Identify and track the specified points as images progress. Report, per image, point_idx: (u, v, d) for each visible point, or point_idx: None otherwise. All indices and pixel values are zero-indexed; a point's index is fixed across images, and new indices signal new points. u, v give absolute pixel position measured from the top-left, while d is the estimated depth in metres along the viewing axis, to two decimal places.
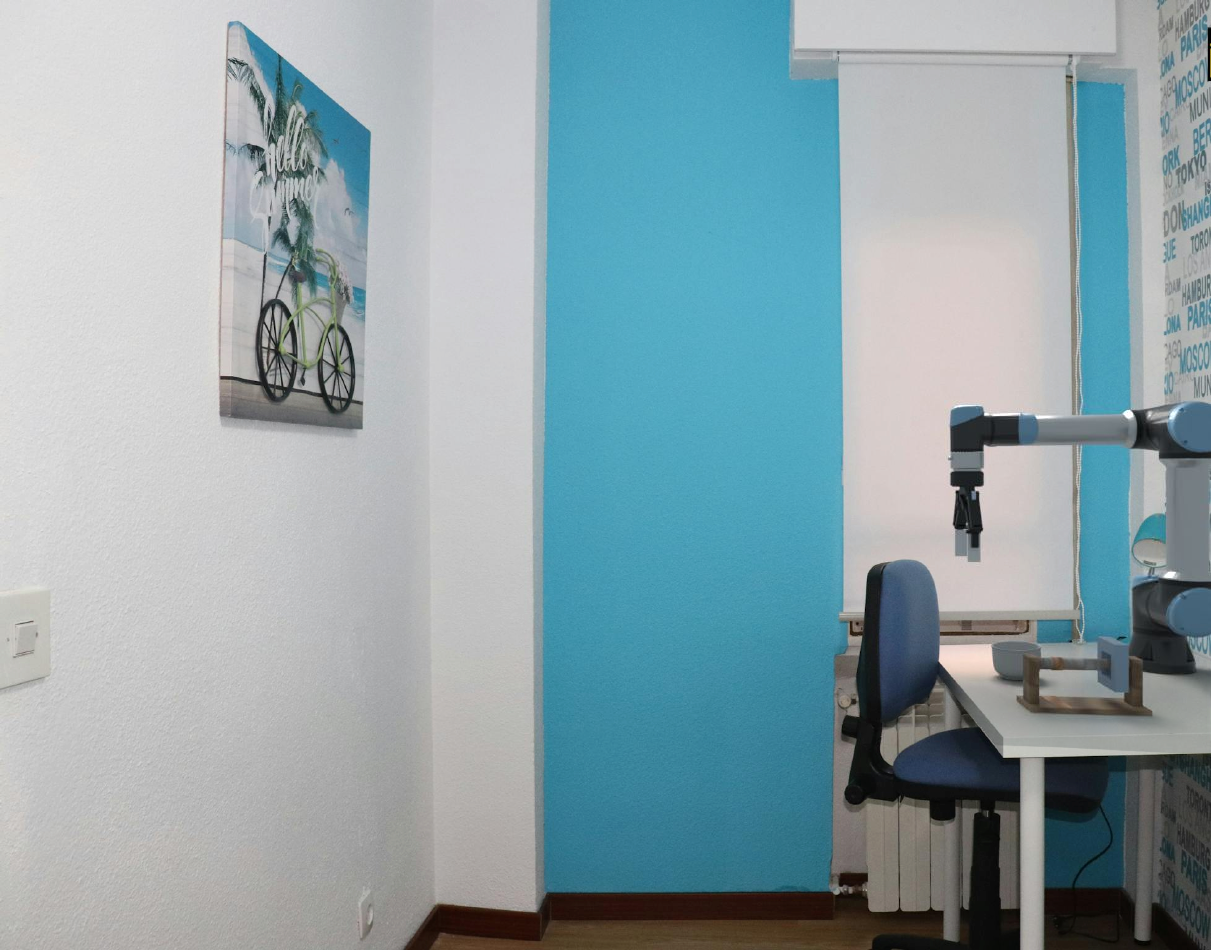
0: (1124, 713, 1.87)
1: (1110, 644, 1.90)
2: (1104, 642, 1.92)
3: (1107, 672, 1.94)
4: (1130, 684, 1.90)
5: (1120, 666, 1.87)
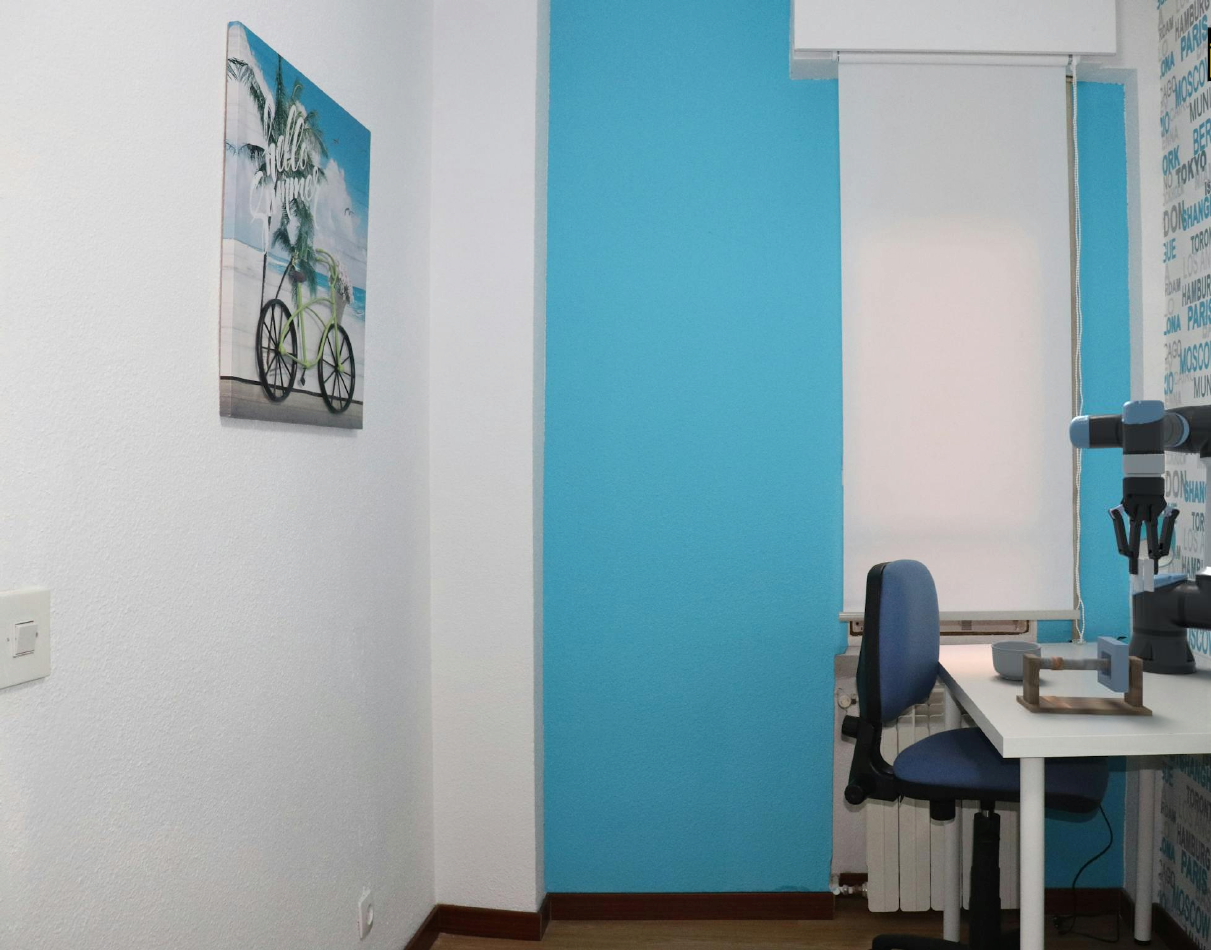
0: (1124, 713, 1.87)
1: (1110, 644, 1.90)
2: (1104, 642, 1.92)
3: (1107, 672, 1.94)
4: (1130, 684, 1.90)
5: (1120, 666, 1.87)
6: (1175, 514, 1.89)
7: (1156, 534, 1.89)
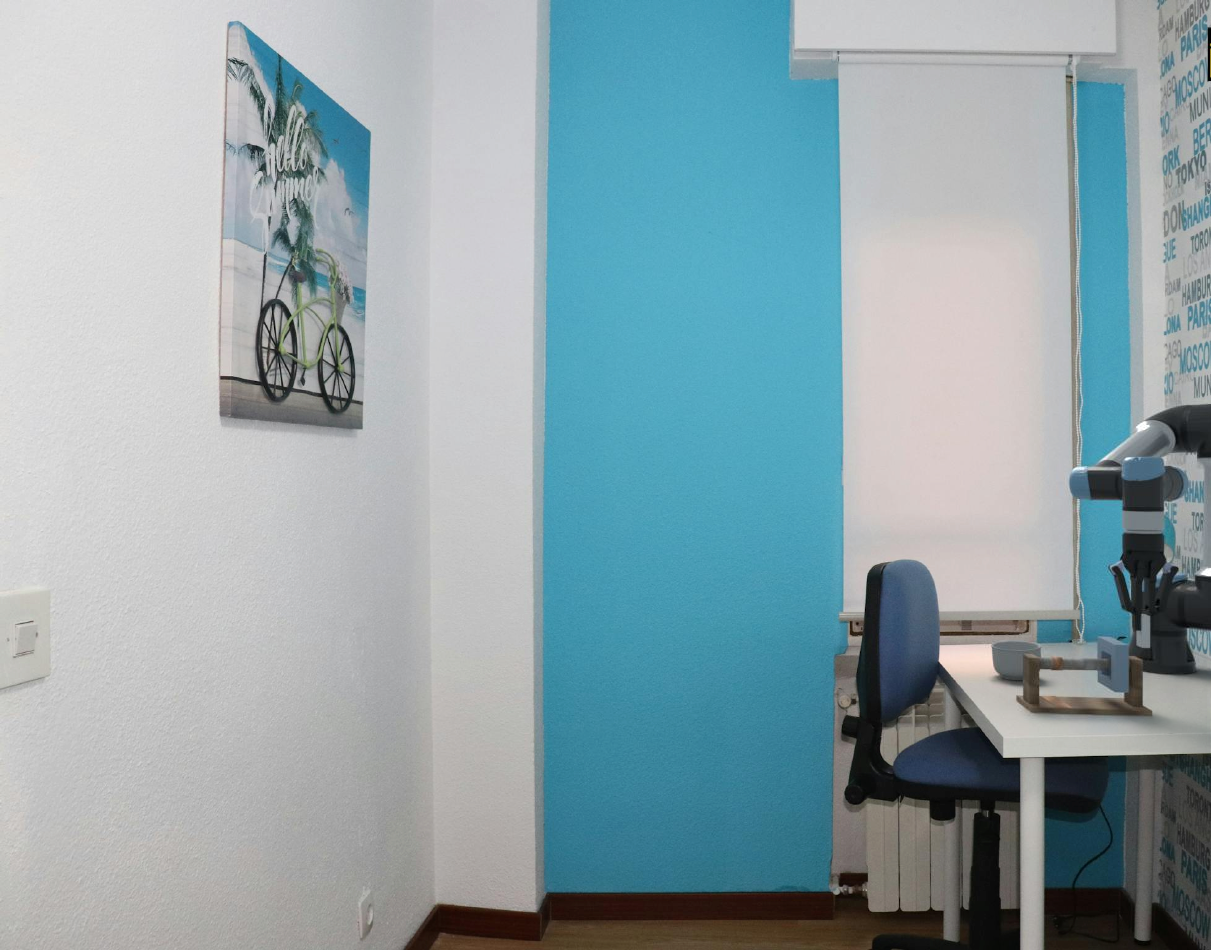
0: (1124, 713, 1.87)
1: (1110, 644, 1.90)
2: (1104, 642, 1.92)
3: (1107, 672, 1.94)
4: (1130, 684, 1.90)
5: (1120, 666, 1.87)
6: (1174, 571, 1.89)
7: (1154, 590, 1.89)
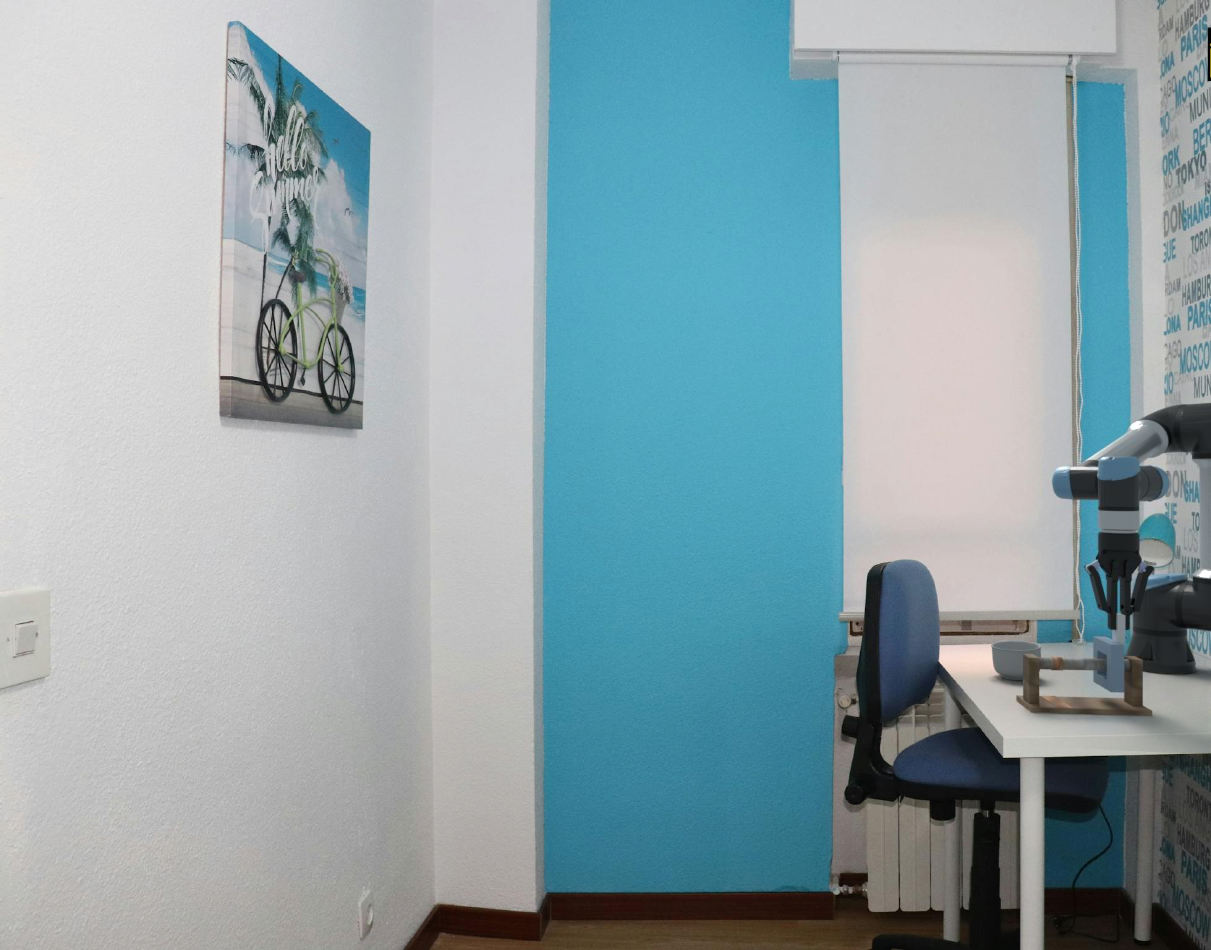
0: (1124, 713, 1.87)
1: (1106, 644, 1.90)
2: (1100, 642, 1.93)
3: (1103, 672, 1.94)
4: (1130, 684, 1.90)
5: (1116, 666, 1.87)
6: (1149, 571, 1.89)
7: (1129, 590, 1.90)
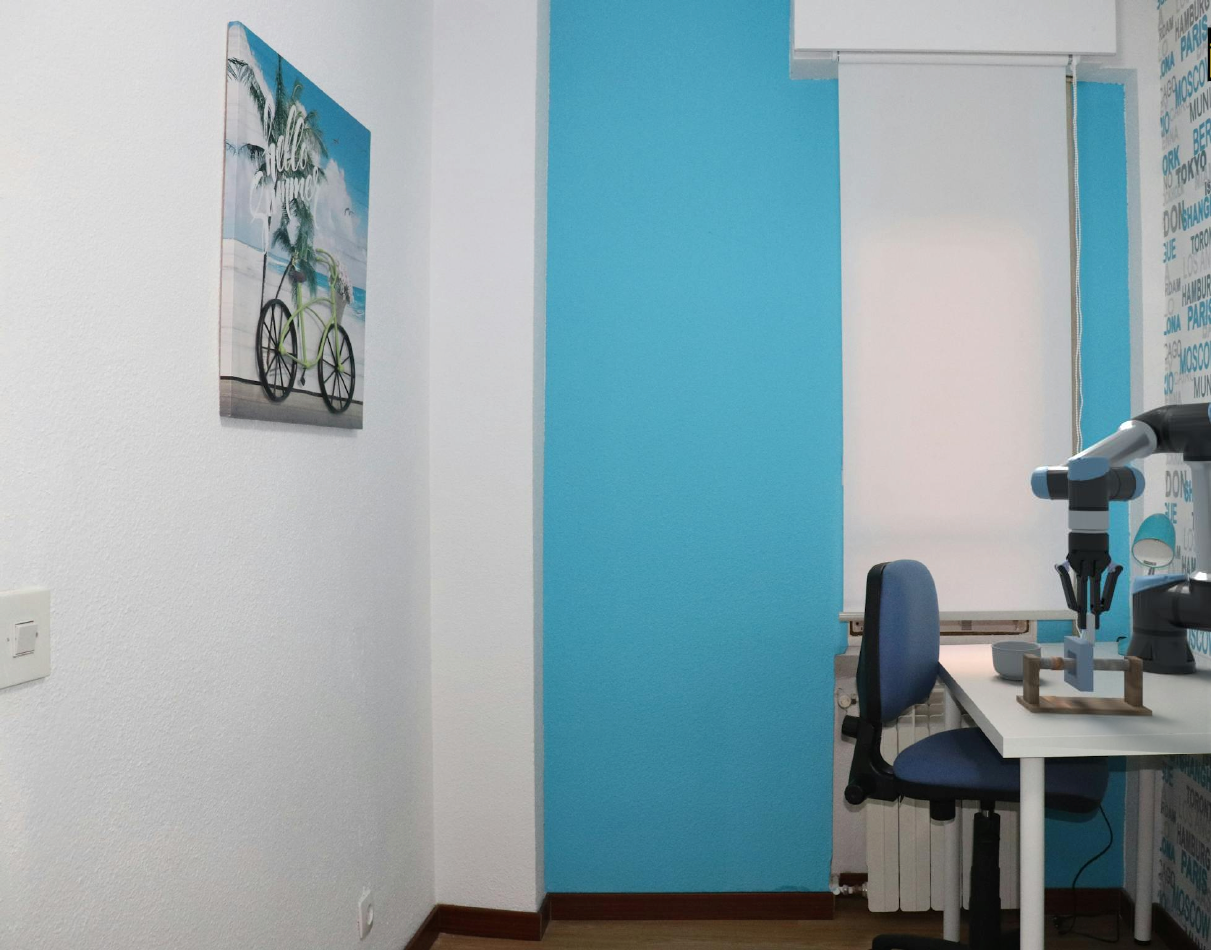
0: (1124, 713, 1.87)
1: (1075, 643, 1.90)
2: (1070, 641, 1.93)
3: (1073, 671, 1.95)
4: (1130, 684, 1.90)
5: (1085, 665, 1.88)
6: (1118, 570, 1.90)
7: (1099, 589, 1.91)
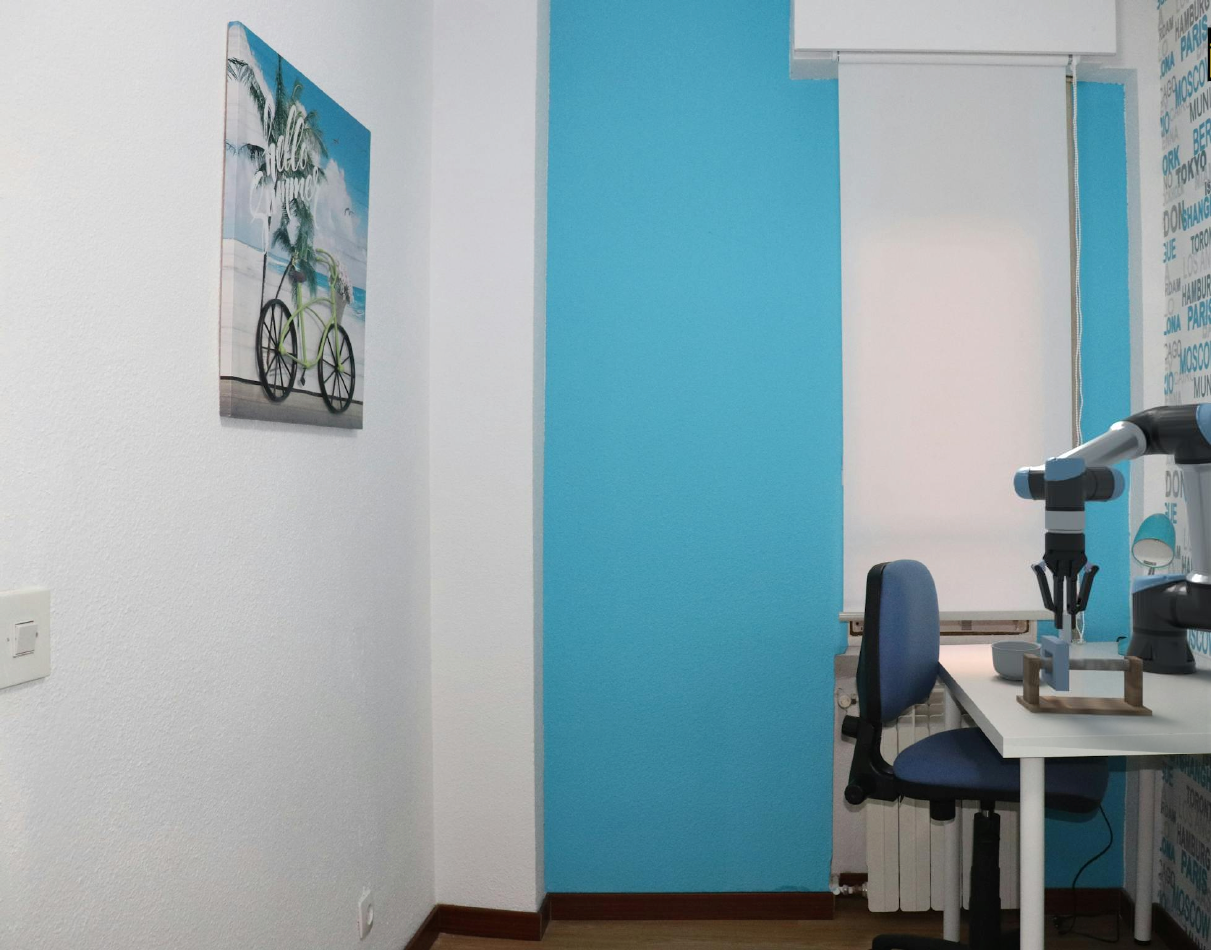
0: (1124, 713, 1.87)
1: (1052, 643, 1.91)
2: (1047, 641, 1.94)
3: (1050, 671, 1.96)
4: (1130, 684, 1.90)
5: (1061, 665, 1.89)
6: (1094, 570, 1.91)
7: (1075, 589, 1.91)
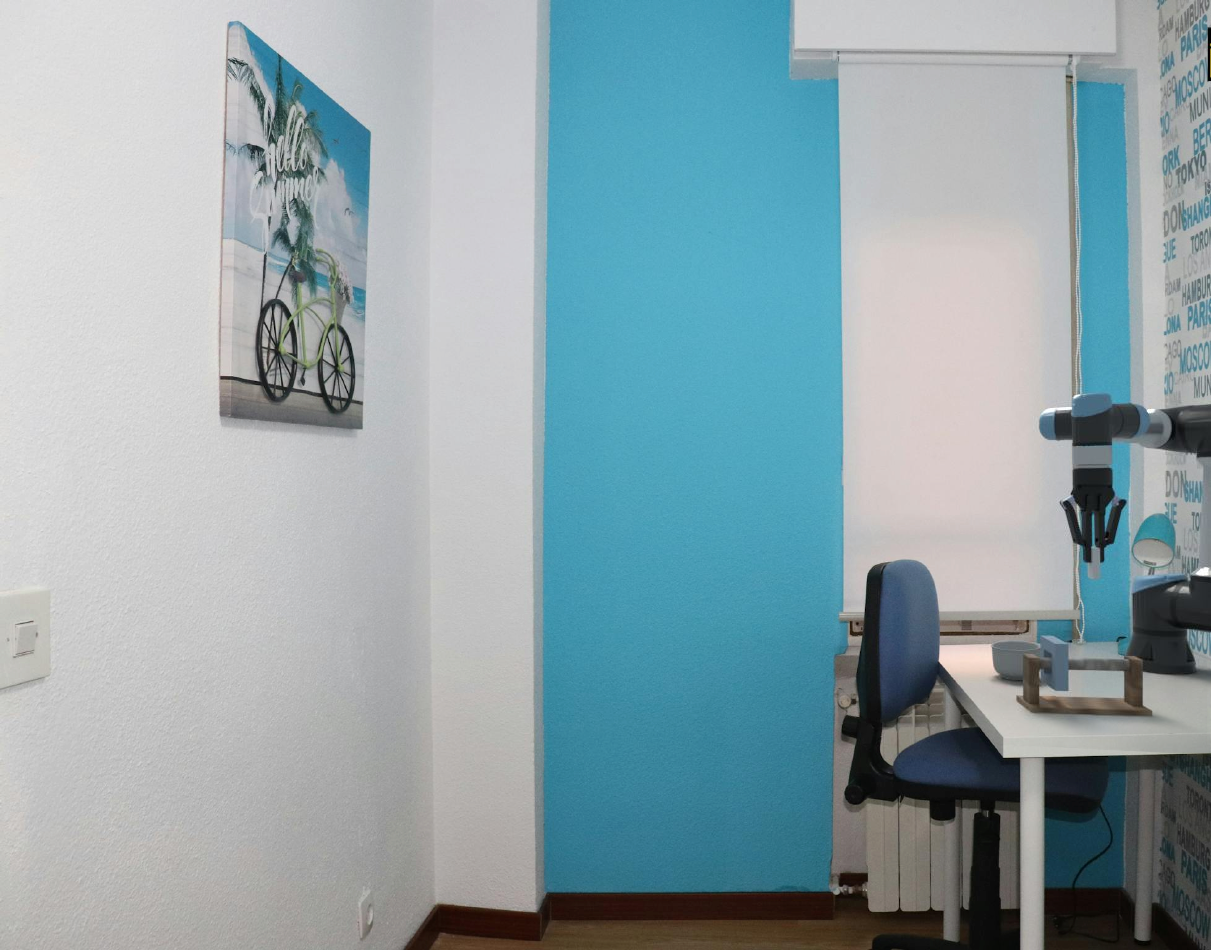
0: (1124, 713, 1.87)
1: (1051, 643, 1.91)
2: (1046, 641, 1.94)
3: (1049, 671, 1.96)
4: (1130, 684, 1.90)
5: (1060, 665, 1.89)
6: (1122, 504, 1.95)
7: (1103, 523, 1.95)
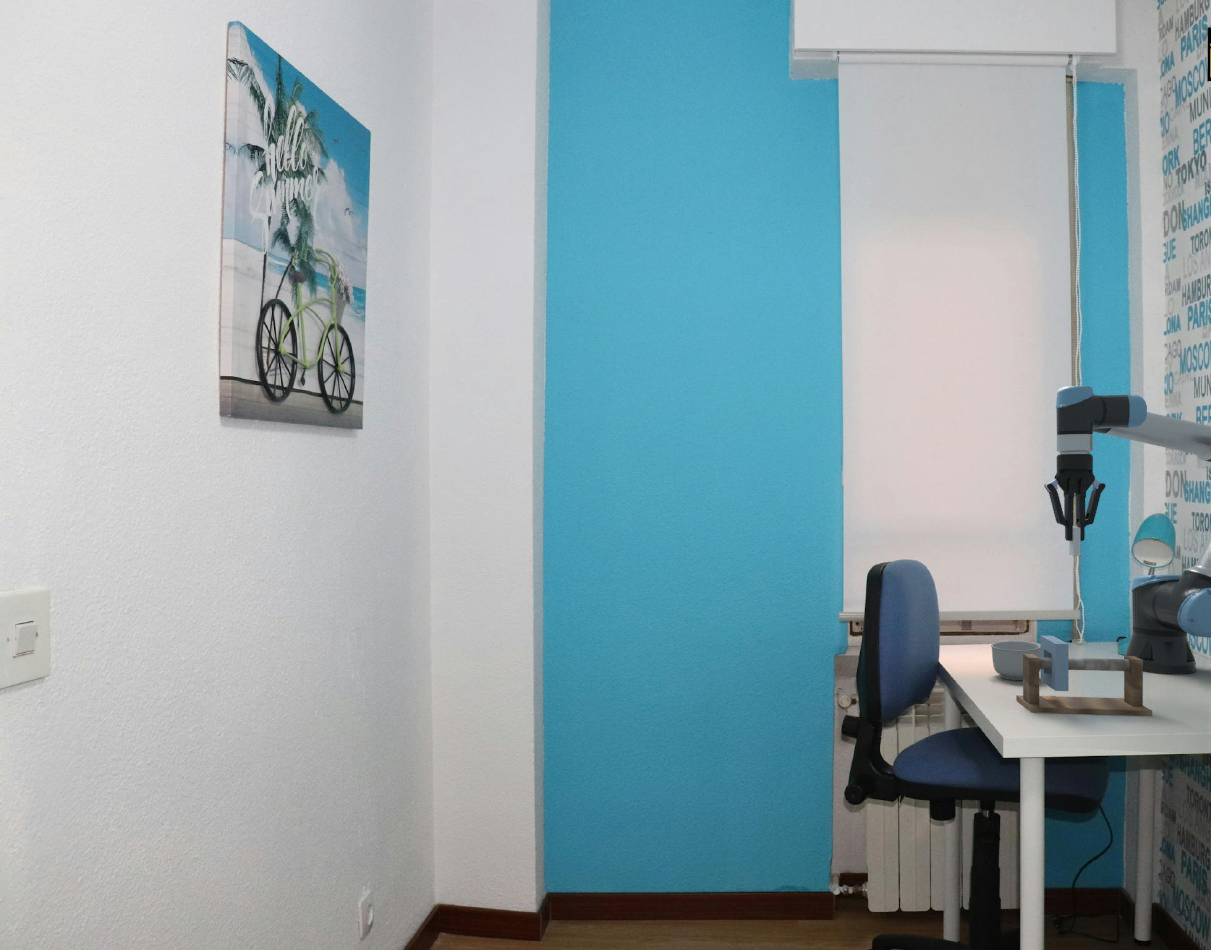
0: (1124, 713, 1.87)
1: (1051, 643, 1.91)
2: (1046, 641, 1.94)
3: (1049, 671, 1.96)
4: (1130, 684, 1.90)
5: (1060, 665, 1.89)
6: (1101, 488, 2.13)
7: (1084, 505, 2.14)
